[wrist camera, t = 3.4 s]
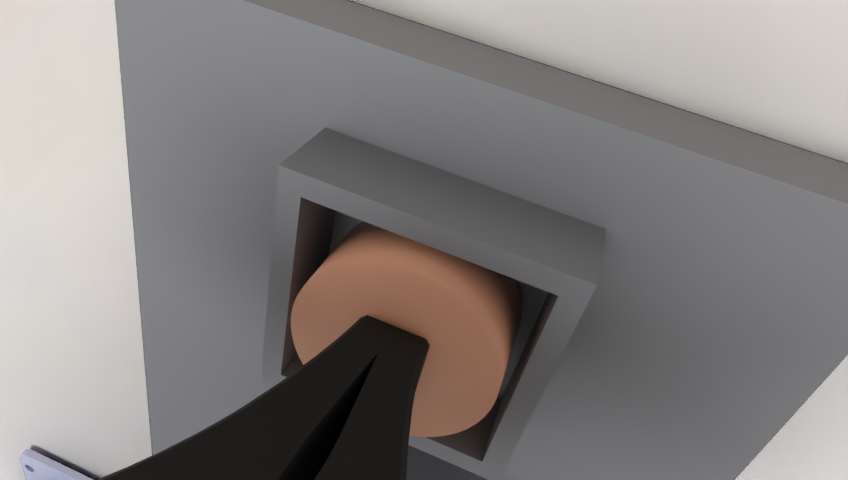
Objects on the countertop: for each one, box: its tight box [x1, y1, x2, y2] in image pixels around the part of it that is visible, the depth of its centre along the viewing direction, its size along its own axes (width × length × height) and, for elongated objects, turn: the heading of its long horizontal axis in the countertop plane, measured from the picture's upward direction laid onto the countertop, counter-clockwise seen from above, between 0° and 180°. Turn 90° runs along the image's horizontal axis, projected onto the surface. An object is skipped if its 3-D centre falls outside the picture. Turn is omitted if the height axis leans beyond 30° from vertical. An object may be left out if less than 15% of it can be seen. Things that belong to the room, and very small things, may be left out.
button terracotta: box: [291, 221, 521, 437], centre depth 13 cm, size 4×4×2 cm
